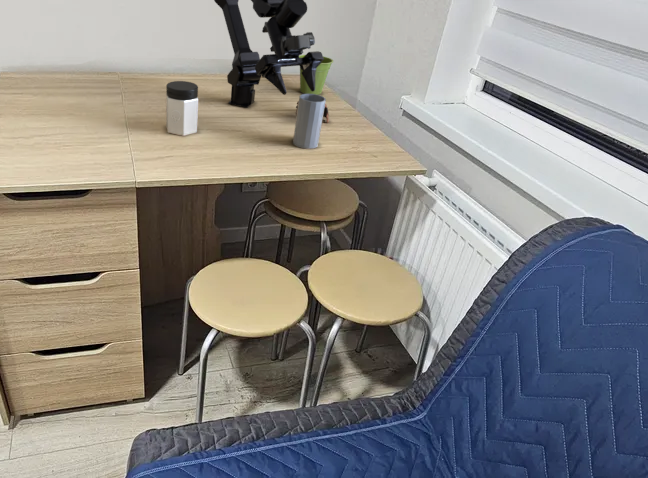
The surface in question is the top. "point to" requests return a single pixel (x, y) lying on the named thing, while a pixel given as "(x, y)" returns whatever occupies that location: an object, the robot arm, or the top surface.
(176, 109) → the jar
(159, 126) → the top surface
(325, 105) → the brown looped piece
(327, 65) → the plant pot
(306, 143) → the tumbler
